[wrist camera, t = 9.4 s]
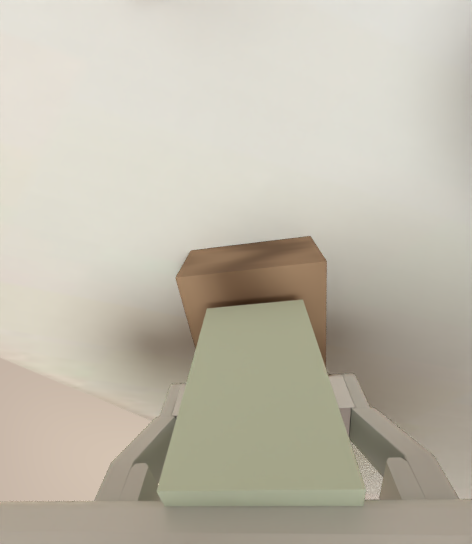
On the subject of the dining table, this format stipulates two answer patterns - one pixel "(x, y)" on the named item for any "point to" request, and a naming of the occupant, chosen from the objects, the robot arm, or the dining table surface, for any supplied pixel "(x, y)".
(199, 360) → the sage block
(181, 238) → the dining table surface
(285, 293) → the base block
